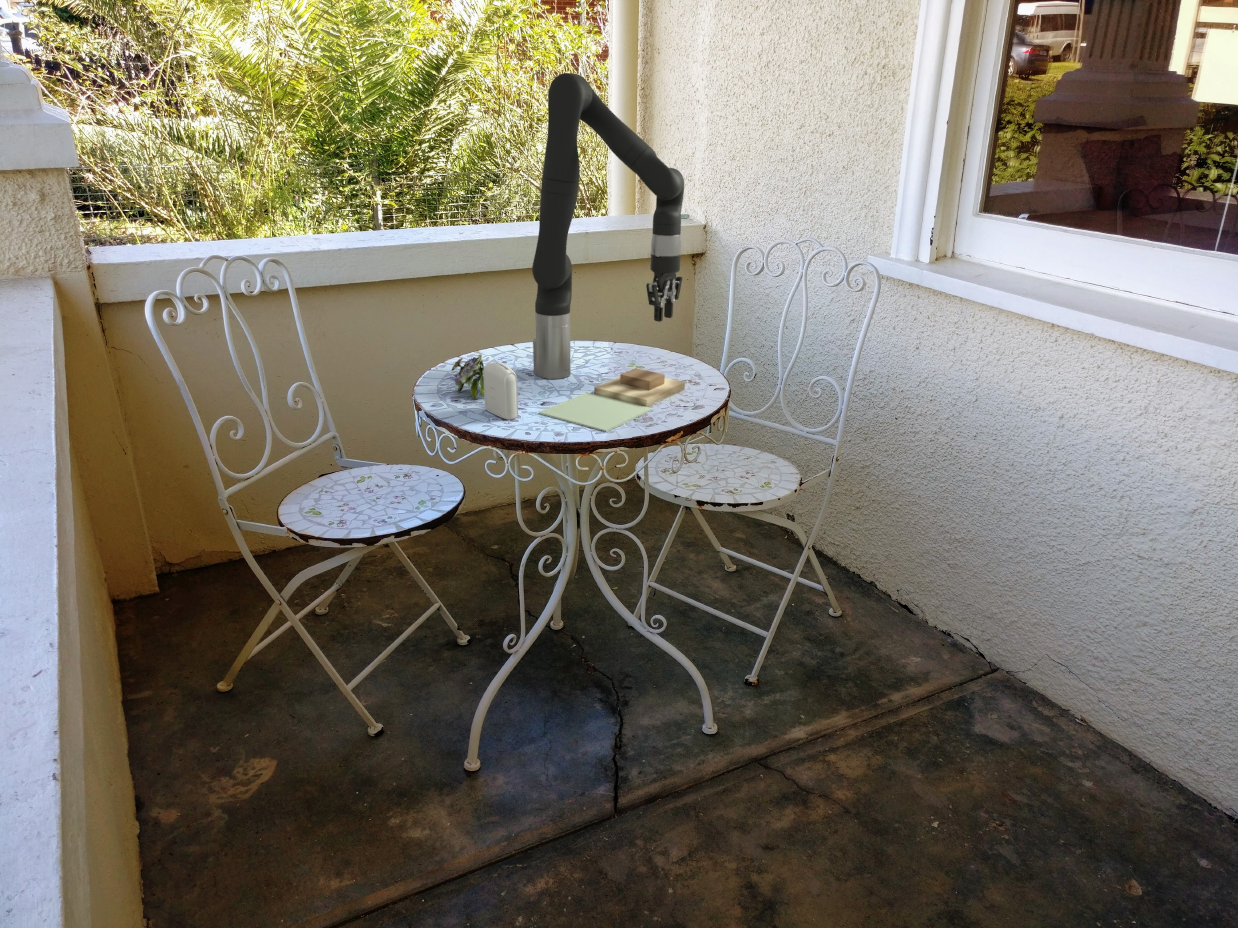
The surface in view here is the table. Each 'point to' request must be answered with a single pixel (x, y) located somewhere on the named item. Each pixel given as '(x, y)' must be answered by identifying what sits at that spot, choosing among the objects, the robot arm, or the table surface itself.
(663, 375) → the walnut slab
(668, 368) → the table surface
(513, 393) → the photo printer
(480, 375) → the passion flower
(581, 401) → the sage mat
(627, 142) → the robot arm
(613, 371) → the table surface
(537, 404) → the table surface
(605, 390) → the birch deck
